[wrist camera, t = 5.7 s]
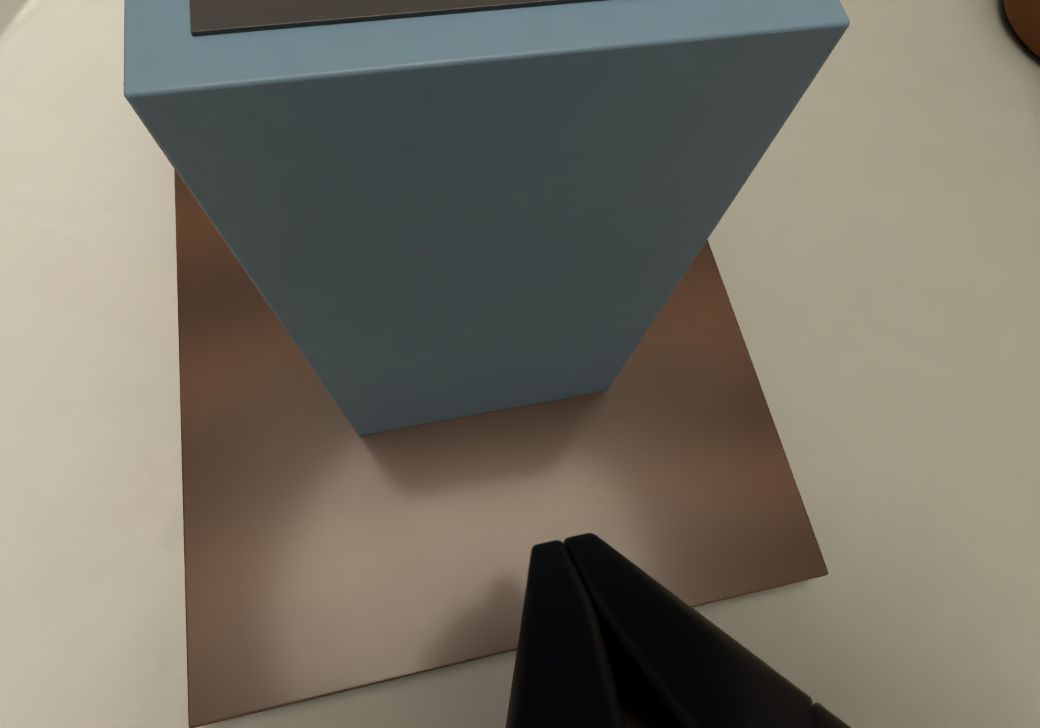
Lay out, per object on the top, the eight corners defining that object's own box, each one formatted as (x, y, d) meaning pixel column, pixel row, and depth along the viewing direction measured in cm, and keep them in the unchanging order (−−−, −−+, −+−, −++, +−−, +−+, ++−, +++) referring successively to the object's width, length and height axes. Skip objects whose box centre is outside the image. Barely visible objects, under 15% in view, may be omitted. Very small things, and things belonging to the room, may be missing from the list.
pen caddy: (607, 390, 17) (905, -56, 6) (358, 436, 16) (63, 12, 5) (538, 138, 20) (635, -505, 9) (323, 164, 19) (92, -525, 8)
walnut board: (806, 575, 17) (830, 574, 16) (209, 719, 15) (187, 729, 14) (606, 6, 25) (613, -22, 23) (184, 44, 22) (169, 14, 21)
